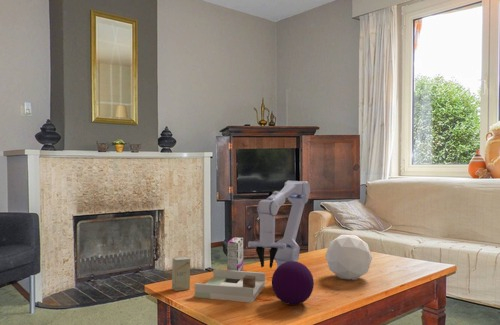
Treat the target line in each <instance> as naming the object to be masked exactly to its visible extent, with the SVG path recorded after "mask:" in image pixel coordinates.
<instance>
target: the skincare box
mask: <svg viewBox="0 0 500 325" xmlns="http://www.w3.org/2000/svg"><path fill="white" fill-rule="evenodd" d="M171 265H172V266H171V267H172V268H171V269H172V271H171V288H172V290H173V291H175V292H178V291H186V290H188V291H189V290H190V288H191V282H190V281H191V258H190V257H188V256H180V257H172V264H171Z"/></svg>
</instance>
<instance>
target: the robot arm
mask: <svg viewBox="0 0 500 325" xmlns="http://www.w3.org/2000/svg"><path fill="white" fill-rule="evenodd" d="M310 193H311V185H310V183H309V182H308V181H307V180H305V181H303V180H301V181H300V180H299V181H298V180H289V179H288V180H287V181H285V182H284V186H283V188H282V189H280V191H277V190H275V191H273V192H272V194H271V195H270V196H268V197H267V198H266V199H261V200H260V201H259V202H258V204H257V206H256V211H257V213H258V219H259V241H258V240H257V241H255V240H254V241H250V240H249V241H248V242H247V247H248V248H255V252H256V254H257V256H258V258H259V262H260V263H259V264H260V267H261V268H264V267H265V250H266V249H269V268H270V269H272V268H273V266H274V262H275V263H276V269H277V268H278V267H279V266H280V265H281V264H283V263H285V262H289V261H296V262H299V258H300V248H301V247H300V245H299V244H298V243H297V242H296V239H297V235H298V233H299V232H298V230H299V227H300V223H301V220H302V219H301V218H302V215H303V211H304V209H305V206H306V205H305V204H307V203H308V201H309V198H310ZM286 199H288V202H289V203H291V208H290V212H289V216H288V220H287V223H286V226H285V230H284V234H283V238H281V239H279V240H277V241H276V240H275V239H276V238H275V237H276V235H275V234H276V233H275V232H276V230H275V229H276V216H277V214H278V212H279V209H280V207H282V205H284V204H285V203H286ZM275 241H276V242H275Z"/></svg>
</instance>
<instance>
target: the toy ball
mask: <svg viewBox="0 0 500 325" xmlns="http://www.w3.org/2000/svg"><path fill="white" fill-rule="evenodd" d="M314 283H315V282H314V276H313V274H312V272H311V270H310V269H309V268H308V267H307V266H306V265H305V264H303V263H301V262H299V261H297V262H296V261H289V262H285V263H283V264H281V265H280V266H279V267H278V268H277V267H276V269H275V270H274V271H273V273H272V276H271V287H272V291H273V293H274V295H275V296H276V298H277V299H278V300H279V301H280V302H282V303H284V304H287V305H291V306H296V305H299V304H302V303H304V302H306V301H307V300H308V299H309V298H310V296H311V295H312V293H313V290H314Z"/></svg>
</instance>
